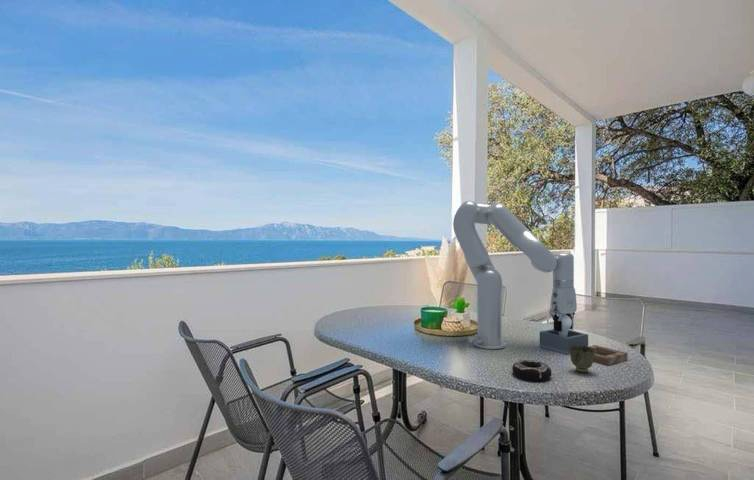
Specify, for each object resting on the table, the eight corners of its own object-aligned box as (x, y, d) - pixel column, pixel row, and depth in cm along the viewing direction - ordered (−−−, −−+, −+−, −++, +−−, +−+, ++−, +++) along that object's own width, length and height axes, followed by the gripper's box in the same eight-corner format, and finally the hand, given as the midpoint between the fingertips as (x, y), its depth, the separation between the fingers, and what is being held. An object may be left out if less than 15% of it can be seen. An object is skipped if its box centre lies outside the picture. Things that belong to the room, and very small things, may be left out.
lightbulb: (565, 344, 151) (564, 316, 151) (551, 341, 156) (551, 313, 156) (575, 342, 154) (575, 314, 154) (561, 339, 159) (561, 312, 159)
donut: (511, 380, 122) (511, 367, 122) (513, 368, 133) (513, 356, 133) (552, 385, 118) (551, 372, 118) (551, 372, 128) (550, 360, 128)
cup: (564, 368, 132) (564, 344, 132) (585, 367, 132) (585, 344, 132) (578, 376, 124) (577, 351, 124) (600, 375, 125) (599, 350, 125)
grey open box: (568, 354, 147) (568, 338, 147) (539, 346, 157) (539, 331, 157) (588, 349, 153) (588, 334, 153) (559, 342, 164) (559, 327, 164)
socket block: (608, 365, 134) (608, 358, 134) (575, 356, 144) (575, 349, 144) (627, 360, 140) (627, 353, 140) (594, 351, 150) (594, 345, 150)
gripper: (557, 286, 147) (557, 334, 148) (585, 283, 156) (585, 328, 156) (540, 284, 154) (540, 330, 154) (568, 281, 162) (568, 325, 163)
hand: (563, 329), depth 155 cm, fingers closed on lightbulb, 6 cm apart
